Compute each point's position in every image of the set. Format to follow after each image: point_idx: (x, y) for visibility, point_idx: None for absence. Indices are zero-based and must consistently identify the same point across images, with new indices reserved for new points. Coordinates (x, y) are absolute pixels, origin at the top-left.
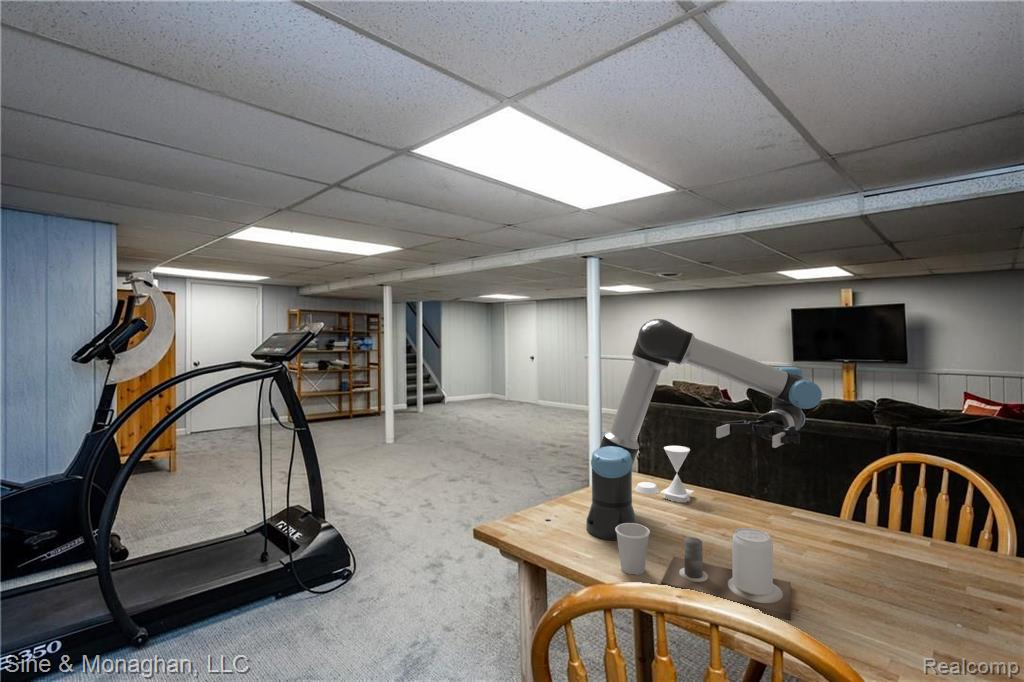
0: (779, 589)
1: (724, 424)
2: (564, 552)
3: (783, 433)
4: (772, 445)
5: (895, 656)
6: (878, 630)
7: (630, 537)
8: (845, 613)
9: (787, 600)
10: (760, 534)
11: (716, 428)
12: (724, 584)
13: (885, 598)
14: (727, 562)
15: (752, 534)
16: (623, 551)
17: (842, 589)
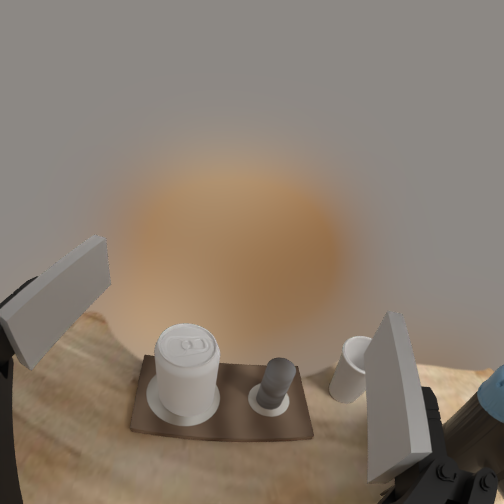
0: (149, 401)
1: (444, 458)
2: (420, 381)
3: (15, 298)
4: (109, 277)
5: (66, 331)
6: (59, 363)
7: (355, 336)
8: (78, 386)
9: (142, 381)
10: (172, 355)
11: (400, 319)
12: (223, 391)
13: (17, 426)
14: (231, 477)
15: (187, 348)
16: (357, 357)
17: (60, 441)
